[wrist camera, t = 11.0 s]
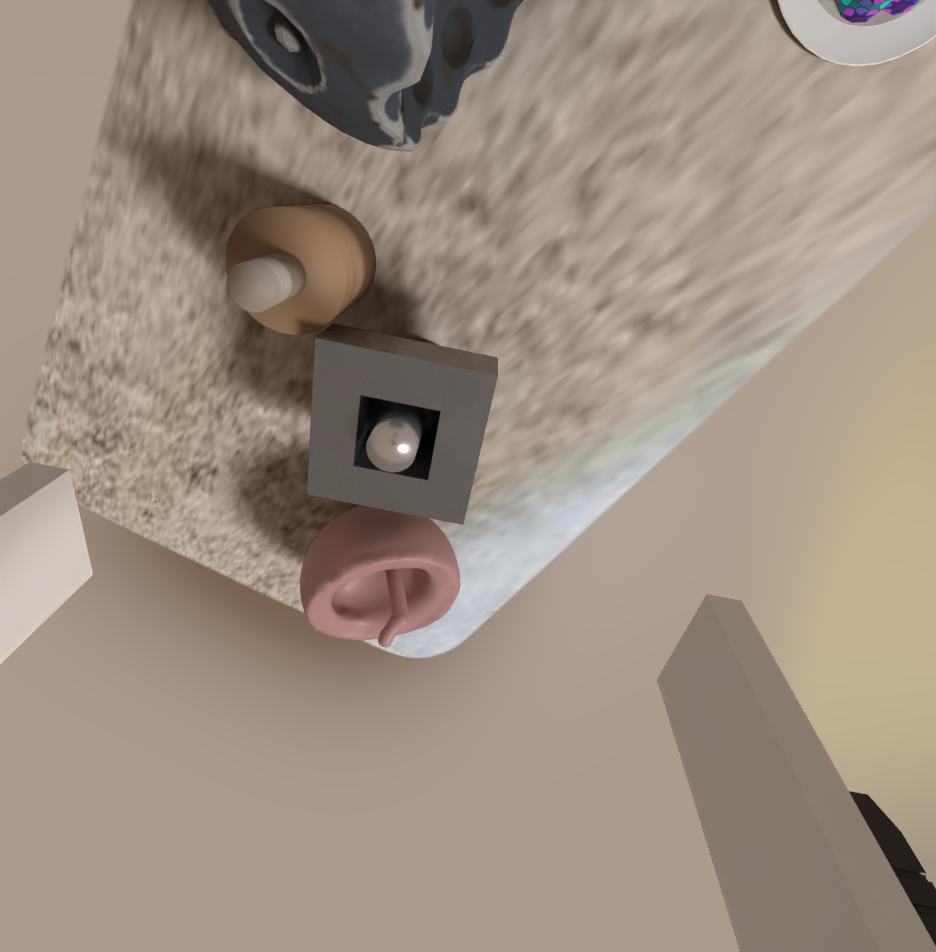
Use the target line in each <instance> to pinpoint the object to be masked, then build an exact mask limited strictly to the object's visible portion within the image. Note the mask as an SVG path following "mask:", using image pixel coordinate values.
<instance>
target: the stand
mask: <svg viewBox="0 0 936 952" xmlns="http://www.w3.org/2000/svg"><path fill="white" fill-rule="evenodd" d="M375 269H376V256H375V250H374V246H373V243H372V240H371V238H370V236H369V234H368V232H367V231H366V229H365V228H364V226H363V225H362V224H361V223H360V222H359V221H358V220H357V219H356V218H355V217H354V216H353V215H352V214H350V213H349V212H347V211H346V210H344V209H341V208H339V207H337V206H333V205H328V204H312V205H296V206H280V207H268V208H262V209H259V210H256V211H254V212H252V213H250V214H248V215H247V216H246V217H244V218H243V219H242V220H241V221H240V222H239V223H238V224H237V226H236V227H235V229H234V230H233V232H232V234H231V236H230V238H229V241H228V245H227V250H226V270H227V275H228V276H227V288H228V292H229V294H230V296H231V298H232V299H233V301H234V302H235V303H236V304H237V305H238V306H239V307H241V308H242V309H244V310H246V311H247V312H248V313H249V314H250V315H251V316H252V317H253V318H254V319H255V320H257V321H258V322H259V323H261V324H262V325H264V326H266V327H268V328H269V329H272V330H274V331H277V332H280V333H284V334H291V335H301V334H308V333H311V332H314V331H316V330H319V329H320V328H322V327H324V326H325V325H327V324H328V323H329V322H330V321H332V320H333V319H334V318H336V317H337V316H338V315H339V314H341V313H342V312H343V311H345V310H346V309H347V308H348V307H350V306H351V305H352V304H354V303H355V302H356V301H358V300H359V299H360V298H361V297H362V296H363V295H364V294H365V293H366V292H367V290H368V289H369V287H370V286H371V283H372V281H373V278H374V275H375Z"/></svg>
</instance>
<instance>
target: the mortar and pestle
mask: <svg viewBox="0 0 936 952" xmlns="http://www.w3.org/2000/svg"><path fill="white" fill-rule="evenodd" d="M459 589H460V573H459V568H458V564H457V559H456V556H455V553H454V551H453V548H452V546H451V544H450V542H449V540H448V539H447V537H446V536H445V534H444V533H443V532H442V530H441V529H440V528H439V527H438V526H437V525H436V524H435V523H434V522H433V521H432V520H431V519H429V518H426V517H420V516H415V515H410V514H405V513H400V512H394V511H389V510H384V509H379V508H373V507H368V506H363V505H361V506H358V507H355V508H352V509H350V510H348V511H346V512H344V513H342V514H340V515H339V516H337V517H336V518H334V519H333V520H332V521H330V522H329V523H328V524H327V525H326V526H325V527H324V528H323V529H322V530H321V531H320V532H319V534H318V535H317V536H316V538H315V539H314V541H313V542H312V544H311V546H310V547H309V549H308V551H307V554H306V557H305V559H304V562H303V566H302V570H301V578H300V593H301V601H302V605H303V609H304V612H305V615H306V617H307V620H308V622H309V623H310V624H311V625H312V627H313V628H314V629H315V630H316V631H320V632H323V633H324V634H327V635H330V636H334V637H338V638H343V639H351V640H353V639H354V640H371V639H378V642H379V644H380V645H381V646H382V647H388V646H390V644H391V643H392V641H393V639H394V637H395V636H396V635H400V634H403V633H408V632H411V631H414V630H417V629H420V628H423V627H425V626H428V625H430V624H432V623H433V622H434V621H437V620H439V619H440V618H441V617H442V616H443V615H444V614H445V613H446V612H447V611H448V610H449V609H450V607H451V606H452V604H453V602H454V601H455V599H456V597H457V595H458V593H459Z"/></svg>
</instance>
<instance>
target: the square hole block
mask: <svg viewBox="0 0 936 952" xmlns="http://www.w3.org/2000/svg"><path fill="white" fill-rule="evenodd" d="M497 377H498V358H496V357H492V356H487V355H482V354H477V353H472V352H468V351H463V350H458V349H453V348H448V347H444V346H439V345H434V344H429V343H424V342H420V341H415V340H410V339H405V338H400V337H396V336H391V335H386V334H381V333H376V332H372V331H367V330H362V329H357V328H352V327H348V326H343V325H338V324H332V325H331V326H329V327H328V328H327V329H326V330H324V331H323V332H322V333H321V334H319V335H318V336H317V337H316V338H315V349H314V368H313V387H312V406H311V425H310V444H309V464H308V483H307V495H310V496H316V497H321V498H326V499H331V500H337V501H342V502H347V503H352V504H358V505H363V506H368V507H373V508H379V509H384V510H389V511H394V512H400V513H405V514H410V515H415V516H420V517H426V518H431V519H436V520H441V521H447V522H452V523H457V524H462V525H463V523H464V519H465V515H466V510H467V506H468V502H469V497H470V493H471V489H472V484H473V480H474V476H475V472H476V467H477V463H478V459H479V454H480V450H481V446H482V441H483V437H484V433H485V428H486V424H487V420H488V415H489V411H490V407H491V403H492V398H493V394H494V390H495V385H496V381H497ZM371 397H373V398H378V399H383V400H388V401H392V402H397V403H402V404H407V405H412V406H417V407H422V408H427V409H432V410H437V411H441V413H440V418H439V423H438V429H437V434H436V440H435V445H434V451H433V455H432V454H427V453H422V452H417V453H416V456H415V459H414V461H413V463H412V464H411V465H410V466H409V467H408V468H407V469H405V470H403V471H399V472H387V471H384V470H381V469H379V468H378V467H376V466H375V465H374V464H373V463H372V462H371V461H370V459H369V457H368V455H367V451H366V444H367V442H366V437H367V428H368V419H369V410H370V401H371Z"/></svg>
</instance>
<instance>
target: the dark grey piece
mask: <svg viewBox="0 0 936 952" xmlns="http://www.w3.org/2000/svg"><path fill="white" fill-rule="evenodd" d="M522 1H523V0H208V2H209V4H210V5H211V7H212V10H213V14H214V16H215V18H216V20H217V22H218V24H219V26H220V27H221V28H222V29H223V30H224V31H225V32H226V33H227V34H228V35H229V36H230V37H231V38H233V39H235V40H237V41H238V43H239V44H240V45H241V46H242V47H243V49H244V50H245V51H246V52H247V53H248V54H249V56H250V57H251V58H252V59H253V60H254V61H255V63H256V64H257V65H258V66H259V67H260V68H261V70H263V71H264V72H265V73H266V74H267V75H268V76H270V77H271V78H272V79H273V80H274V81H276V82H277V83H278V84H279V85H280V86H281V87H283V88H284V89H285V90H286V91H287V92H288V93H290V94H291V95H292V96H293V97H294V98H296V99H297V100H298V101H299V102H300V103H301V104H303V105H304V106H305V107H306V108H308V109H309V110H311V111H312V112H313V113H315V114H316V115H317V116H319V117H320V118H322V119H323V120H324V121H326V122H327V123H329V124H331V125H332V126H334V127H335V128H337V129H339V130H340V131H342V132H344V133H346V134H348V135H350V136H352V137H354V138H356V139H358V140H360V141H363V142H365V143H367V144H370V145H373V146H377V147H380V148H383V149H389V150H395V151H413V150H415V149H416V148H418V147H419V146H420V143H421V128H424V127H428V126H433V125H440V124H444V123H446V122H447V121H448V120H449V119H450V118H451V117H452V116H453V114H454V113H455V112H456V111H457V105H458V100H459V94H460V90H461V87H462V84H463V82H464V80H465V79H466V78H468V77H469V76H470V75H471V74H474V73H476V72H478V71H481V70H483V69H485V68H488V67H491V66H492V65H493V64H494V63H495V62H496V61H497V59H498V58H499V57H500V56H501V54H502V53H503V52H504V50H505V49H506V47H507V41H508V34H509V28H510V25H511V21H512V18H513V15H514V12H515V11H516V9H517V7H518V6H519V5H520V4H521V3H522Z"/></svg>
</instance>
